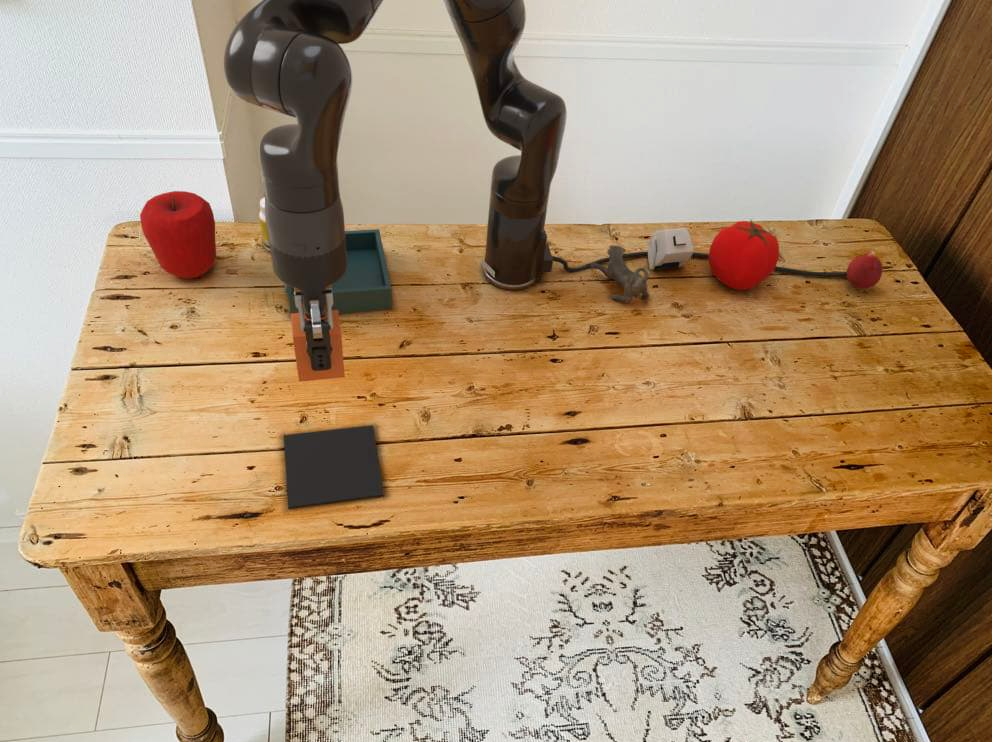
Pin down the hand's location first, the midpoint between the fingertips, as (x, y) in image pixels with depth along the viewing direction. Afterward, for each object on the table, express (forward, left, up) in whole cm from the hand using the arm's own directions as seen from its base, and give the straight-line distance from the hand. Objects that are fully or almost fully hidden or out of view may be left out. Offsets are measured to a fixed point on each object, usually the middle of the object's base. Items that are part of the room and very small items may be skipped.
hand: (320, 353), depth 93 cm
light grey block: (-61, -35, -20) cm, 73 cm away
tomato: (-73, -30, -20) cm, 81 cm away
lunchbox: (-4, -37, -20) cm, 42 cm away
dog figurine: (-51, -30, -20) cm, 62 cm away
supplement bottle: (+5, -48, -20) cm, 52 cm away
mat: (0, +1, -20) cm, 20 cm away
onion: (-95, -25, -20) cm, 100 cm away
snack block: (0, 0, -2) cm, 2 cm away
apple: (+19, -43, -20) cm, 51 cm away
